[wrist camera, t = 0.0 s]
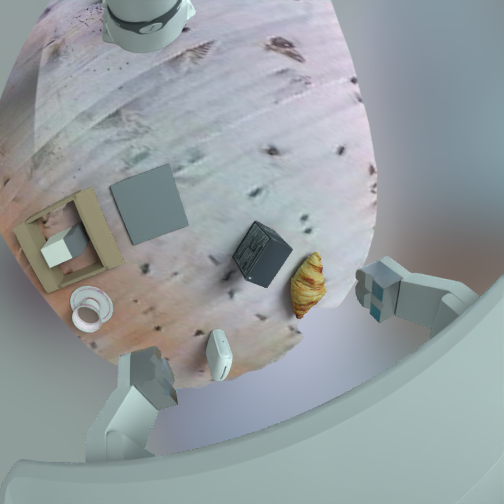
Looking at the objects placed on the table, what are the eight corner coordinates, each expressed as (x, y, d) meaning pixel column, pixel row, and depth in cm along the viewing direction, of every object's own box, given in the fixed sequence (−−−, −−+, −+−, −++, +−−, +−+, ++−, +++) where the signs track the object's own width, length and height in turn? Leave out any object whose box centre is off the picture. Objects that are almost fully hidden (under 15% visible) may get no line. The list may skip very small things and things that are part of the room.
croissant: (300, 242, 72) (295, 254, 65) (336, 252, 70) (335, 264, 63) (285, 306, 81) (279, 322, 74) (317, 315, 79) (314, 331, 72)
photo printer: (211, 327, 73) (220, 360, 63) (225, 328, 75) (236, 360, 64) (203, 353, 77) (211, 385, 66) (217, 353, 78) (226, 384, 68)
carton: (20, 222, 44) (12, 228, 41) (96, 182, 48) (91, 187, 44) (52, 284, 53) (47, 293, 50) (126, 254, 57) (124, 263, 53)
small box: (253, 266, 68) (267, 290, 59) (231, 257, 65) (243, 280, 56) (276, 231, 66) (295, 250, 57) (254, 219, 63) (271, 237, 54)
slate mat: (110, 185, 49) (110, 186, 49) (168, 163, 51) (168, 163, 51) (134, 243, 56) (133, 245, 56) (188, 224, 58) (188, 225, 58)
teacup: (82, 276, 55) (77, 290, 50) (121, 302, 62) (119, 318, 56) (63, 306, 57) (58, 321, 52) (100, 329, 63) (97, 345, 58)
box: (51, 236, 49) (40, 249, 43) (81, 222, 50) (72, 234, 44) (59, 253, 51) (50, 267, 45) (89, 239, 52) (81, 254, 46)
